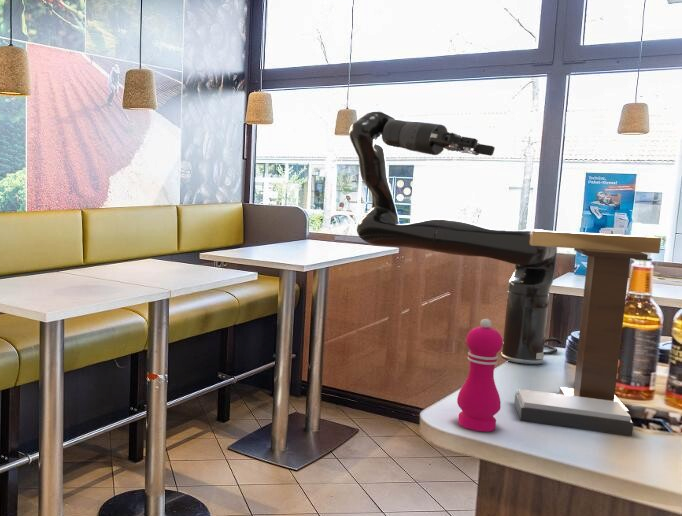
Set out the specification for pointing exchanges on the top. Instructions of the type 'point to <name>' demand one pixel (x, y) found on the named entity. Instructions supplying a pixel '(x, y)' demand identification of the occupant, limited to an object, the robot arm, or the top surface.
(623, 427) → the scale
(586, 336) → the stand
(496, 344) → the pepper mill
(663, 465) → the top surface
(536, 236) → the beech stick
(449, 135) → the robot arm
